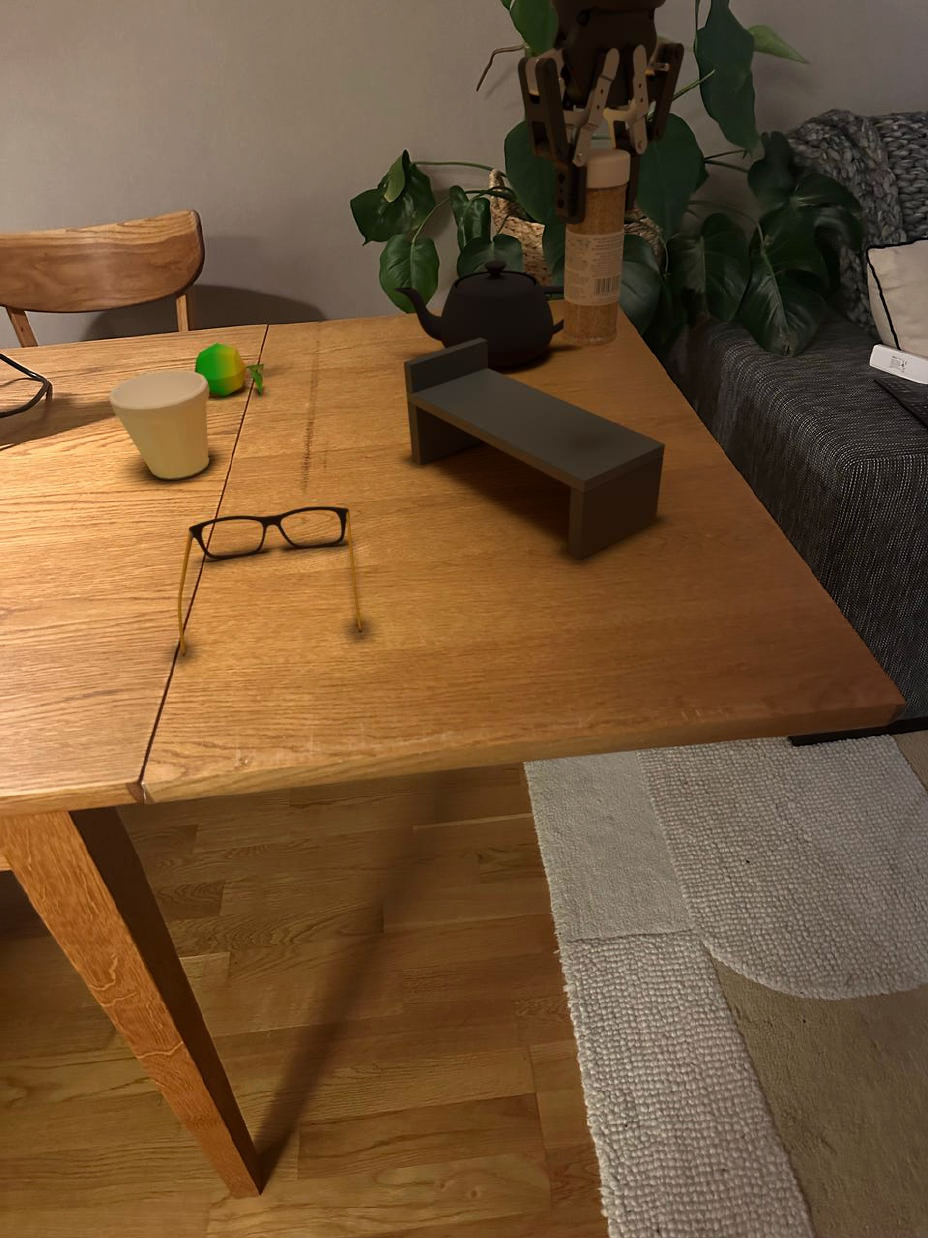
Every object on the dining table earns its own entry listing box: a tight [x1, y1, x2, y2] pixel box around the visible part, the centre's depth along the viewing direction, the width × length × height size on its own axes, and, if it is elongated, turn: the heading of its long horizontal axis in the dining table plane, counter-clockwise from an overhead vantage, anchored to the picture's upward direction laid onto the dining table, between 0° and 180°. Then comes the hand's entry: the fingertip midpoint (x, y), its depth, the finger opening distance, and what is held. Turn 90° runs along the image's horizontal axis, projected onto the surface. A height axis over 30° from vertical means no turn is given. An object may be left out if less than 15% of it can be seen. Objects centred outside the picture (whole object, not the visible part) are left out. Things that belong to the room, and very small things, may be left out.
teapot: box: [393, 259, 564, 370], centre depth 108 cm, size 25×16×12 cm, turn 93°
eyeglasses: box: [177, 505, 362, 654], centre depth 69 cm, size 14×14×4 cm
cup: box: [107, 369, 210, 481], centre depth 86 cm, size 10×10×9 cm
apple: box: [194, 342, 265, 397], centre depth 104 cm, size 7×6×9 cm
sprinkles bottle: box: [561, 147, 630, 348], centre depth 62 cm, size 5×5×13 cm
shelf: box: [403, 338, 666, 561], centre depth 79 cm, size 26×10×11 cm, turn 38°
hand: (595, 214), depth 60 cm, fingers closed on sprinkles bottle, 4 cm apart
